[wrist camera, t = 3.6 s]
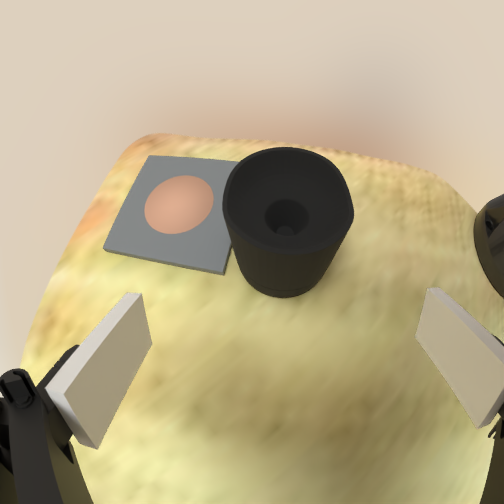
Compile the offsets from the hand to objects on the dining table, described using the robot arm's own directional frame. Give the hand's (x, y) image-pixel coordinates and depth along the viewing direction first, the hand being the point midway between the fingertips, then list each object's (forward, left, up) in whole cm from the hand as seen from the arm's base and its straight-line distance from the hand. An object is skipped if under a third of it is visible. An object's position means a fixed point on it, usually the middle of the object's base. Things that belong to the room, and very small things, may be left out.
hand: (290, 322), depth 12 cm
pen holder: (-4, -9, -14) cm, 17 cm away
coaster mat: (+4, -19, -13) cm, 23 cm away
